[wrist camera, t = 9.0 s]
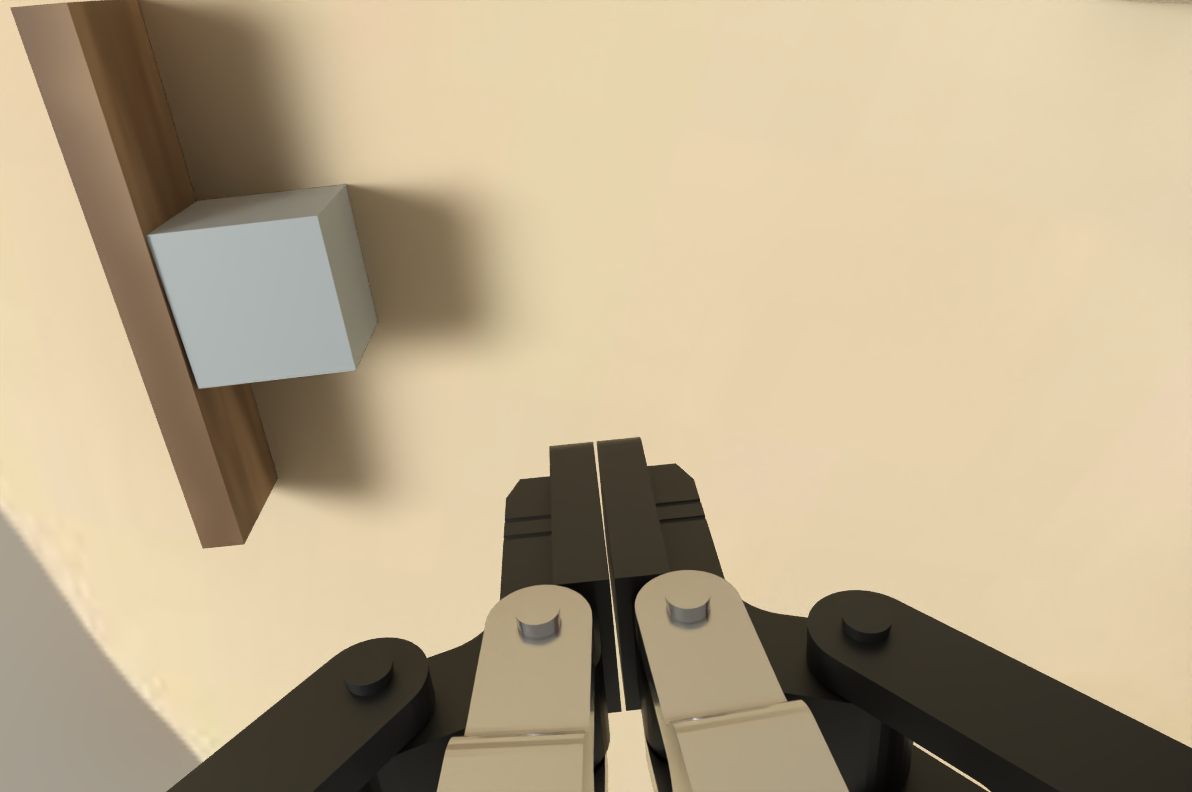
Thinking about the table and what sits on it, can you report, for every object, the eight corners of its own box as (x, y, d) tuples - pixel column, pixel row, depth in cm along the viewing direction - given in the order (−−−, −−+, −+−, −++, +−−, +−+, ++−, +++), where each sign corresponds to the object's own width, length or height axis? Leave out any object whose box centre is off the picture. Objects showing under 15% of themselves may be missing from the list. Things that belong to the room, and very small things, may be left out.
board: (136, -2, 36) (66, 2, 30) (277, 478, 46) (244, 544, 41) (89, 2, 36) (10, 7, 30) (241, 482, 46) (202, 548, 41)
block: (346, 183, 40) (317, 215, 34) (378, 321, 43) (355, 370, 38) (197, 200, 40) (145, 235, 34) (240, 337, 43) (198, 388, 37)
